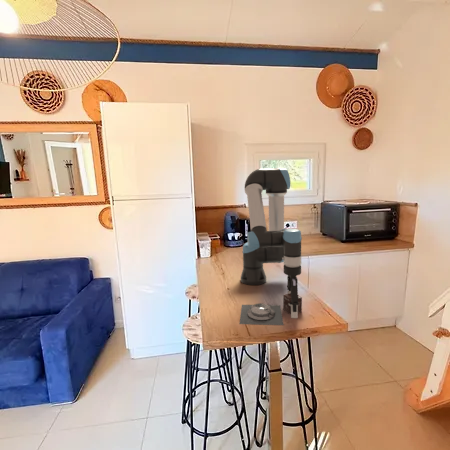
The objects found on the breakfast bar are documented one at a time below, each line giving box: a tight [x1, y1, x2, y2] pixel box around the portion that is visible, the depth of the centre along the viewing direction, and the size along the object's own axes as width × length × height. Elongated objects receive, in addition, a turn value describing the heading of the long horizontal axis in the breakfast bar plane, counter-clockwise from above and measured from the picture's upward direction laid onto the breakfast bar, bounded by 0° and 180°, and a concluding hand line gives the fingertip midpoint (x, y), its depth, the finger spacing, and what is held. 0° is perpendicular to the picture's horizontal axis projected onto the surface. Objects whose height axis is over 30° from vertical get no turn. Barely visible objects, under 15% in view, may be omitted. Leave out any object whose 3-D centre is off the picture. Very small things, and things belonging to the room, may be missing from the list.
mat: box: [239, 304, 285, 326], centre depth 122 cm, size 18×18×1 cm
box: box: [282, 293, 303, 316], centre depth 123 cm, size 6×6×7 cm
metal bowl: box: [247, 303, 275, 321], centre depth 122 cm, size 12×12×3 cm
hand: (292, 310), depth 124 cm, fingers open, 12 cm apart
